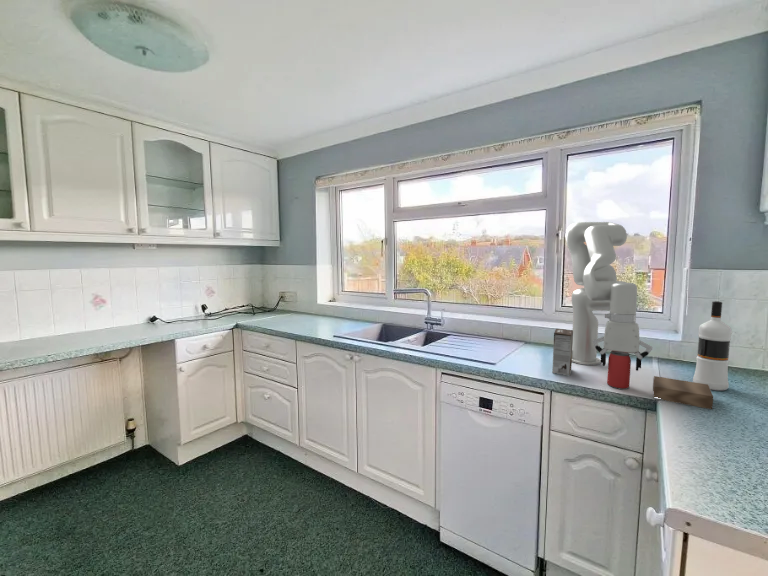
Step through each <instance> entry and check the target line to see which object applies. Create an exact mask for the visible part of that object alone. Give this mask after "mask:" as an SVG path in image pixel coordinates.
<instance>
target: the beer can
mask: <svg viewBox="0 0 768 576" xmlns="http://www.w3.org/2000/svg"><path fill="white" fill-rule="evenodd" d="M630 355H631V353H624V352H616V351H610V353H609V355H608V360H607V361H608V362H607V376H606V382H607V383H606V384H607V385H608V386H609V387H612V388H614V387H615V388H614V389H618V388H620V389H619V390H626V388H627V389H629V388H630V382H631V365H632V360H631V359H632V358H631V356H630Z"/></svg>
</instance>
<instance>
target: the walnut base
mask: <svg viewBox="0 0 768 576" xmlns="http://www.w3.org/2000/svg"><path fill="white" fill-rule="evenodd" d="M652 384H653V385H652V388H653V389H652V390H653V391H654V394H653V398H654V397H658V398H661V399H663V400H662V401H665V400H666V401H667V402H671V403H676V404H682V405H686V406H691V407H697V408H703V409H708V410H713V407H714V406H713V405H714V402H713V401H714V395H713V393H712V390H710V388H709V386H708V384H701V383H695V382H693V381H689V380H682V379H681V380H680V379H676V378H669V377H663V376H657V375H654V376H653V383H652ZM666 401H665V402H666Z"/></svg>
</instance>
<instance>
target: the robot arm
mask: <svg viewBox="0 0 768 576" xmlns="http://www.w3.org/2000/svg"><path fill="white" fill-rule="evenodd" d="M565 232H566V233H565V242H566V245H567V248H568V251H569V253H570V257H571V266H572V275H573V281H574V283H575V284H576V285H577V286H583V287H584V288H583V287H581V288H577V289H576V290H574V291H573V292H572V293H571V306H572V330H573V344H572V363H575V364H579V365H583V366H584V365H586V366H597V365H600V364H601V363H602V367H605V366H606V364H607V354H606V352H607V351H609V352H611V351H616V352H624V353H629V354H634V356H636V362H635V371H637V372H638V371H639V369H641V368H642V360H643V359H644V358H646V357H647V356H648V355H649V354H650V353H651V351H652V350H653V346H651V345H650V344H648V343H647V342H644V341H642V340H640V327H639V324H638V323H637V322H636V321H637V319H636V318H637V300H638V285H636V284H635V283H634V282H633V283H632V282H626V281H624V280H623V281H622V280H618V278H617V272H616V270H615V268H614V267H613V266H612V265H611V264H613V263H614V262H615V261H616V260H617V254H616V251H615V248H614V247H620V246H623V245H624V244H626V241H627V237H628V234H627V230H626V229H625V227H624V226H623V225H621V224H618V223H613V222H611V221H610V222H609V221H588V222H587V221H583V222H580V221H579V222H574V223H572V224H570V225H569V226H568V227H567V228H566V231H565ZM597 311H598V312H600V311H601V312H603V311H604V312H607V311H609V313H605V314H604V318H606V319H608V320H607V321H606V323H605V328H604V335H603V336H602V337H600V338H598V337H599V335H598V334H599V320H598V318H597V316H596V315H595V313H594V312H597ZM602 342H603V348H602V347H601V346H600V345H599V343H602ZM640 346H641V347H643V348H644V349H645V350H644V351H643V352H641V351H640ZM597 352H599V354H600V358H598V357H597V354H598V353H597Z"/></svg>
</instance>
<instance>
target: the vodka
mask: <svg viewBox="0 0 768 576" xmlns="http://www.w3.org/2000/svg"><path fill="white" fill-rule="evenodd" d="M722 310H723V302H722V301H717V300H715V301H712V302H711V311H710V313H711V314H710V319H709V320H707V321H705V322H703V323H701V324H700V325H699V326H698V342H697V343H698V344H697V353H696V354H697V355H696V357H695V358H696V365H695V369H694V375H693V377H692V382H695V383H701V384H708V386H709V388H710V390H711V391H718V392H721V391H726V390H728V389H729V386H730V384H729V377H728V375H729V374H728V373H729V371H728V369H729V368H728V367H729V363H730V361H729V355H730V348H731V347H730V345H731V340H732V333H733V331H732V328H731V327H730V326H729V325H728V324H727V323H725V322H723V321H722Z"/></svg>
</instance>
